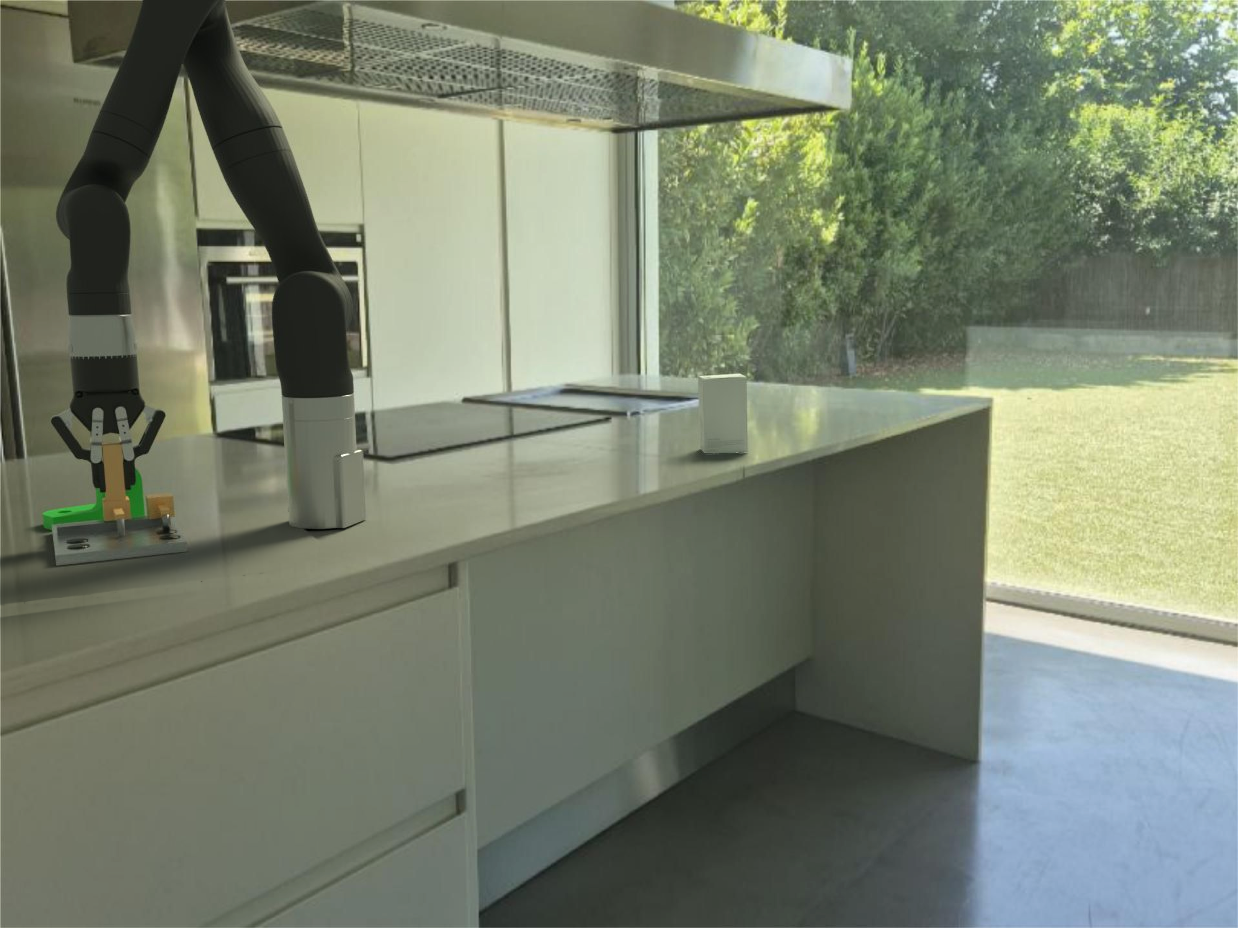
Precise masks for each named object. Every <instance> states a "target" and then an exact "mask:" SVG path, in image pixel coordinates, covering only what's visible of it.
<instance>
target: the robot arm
mask: <svg viewBox="0 0 1238 928" xmlns="http://www.w3.org/2000/svg"><path fill="white" fill-rule="evenodd" d="M226 3H227V2H226V0H142V2H141V6H140V11H139V14H138V16H137V20H136V23H135V26H134V29H133V32H132V35H131V38H130V41H129V43H128V46H127V48H126V51H125V54H124V56H123V59H122V61H121V63H120V65H119V67H118V70H117V72H116V73H115V76H114V79H113V81H112V83H111V85H110V88H109V90H108V92H107V94H106V96H105V99H104V101H103V103H102V106H101V107H100V108H101V109H100V110H99V113H98V115H97V118H96V120H95V122H94V125H93V126H92V130H91V132H90V134H89V138H88V141H87V142H86V143H87V144H86V147H85V149H84V151H83V154H82V156H81V157H80V160H79V161H78V163H77V165H76V166H75V168H74V170H73V172H72V174H71V175H70V178H69V179H68V181H67V182H66V185H65V186H64V189H63V190H62V193H61V194H60V197H59V200H58V201H57V206H56V211H55V219H56V224H57V227H58V228H59V230H60V231H61V232H60V233H62V235H63V236H64V237H65V238H66V239H68V240H69V253H70V254H69V255H70V268H69V270H68V273H67V276H66V298H67V311H68V315H69V316H68V332H67V333H68V335H67V337H68V351H69V359H70V372H71V386H72V394H73V396H72V399H71V402H70V403H69V408H68V409H65V410H64V411H62V412H60V413H59V414H54V415H52V416H51V417H50V423H51V425H52V426H53V428H54V429H55V430H56V432H57V433H58V435H59V436H60V438H61V439H62V441H63V442H64V444H65V446H67V448H68V449H69V451H70V452H71V454H72V455H73V456H74V457H75V459H76V460H83V461H87V462H89V463H90V467H91V479H92V486H93V487H94V489H96V488H99V491H100V493H104V492H106V483H105V470H104V463H103V460H102V444H103V436H104V435H108V434H116V435H117V436H118V440H119V442H120V443H121V445H122V456H123V471H124V484H125V491H127V490H131V485H135V483H136V474H135V468H136V465H135V462H136V459H137V458H139V457H141V456H144V455H148V454H149V453H150V450H151V448H152V447H153V444H154V442H155V439H156V437H157V436H158V433H159V432H160V429H161V427H162V425H163V423H164V421H165V418H166V413H165V411H164V410H162V409H161V408H154V407H152V406H149V405H148V404H146V402H145V401H146V400H145V399H144V398H143V396H142V395H141V391H140V380H139V367H138V366H139V365H138V364H139V363H138V355H137V350H138V344H137V341H136V339H137V338H136V330H135V327H134V326H135V325H134V323H133V317H132V306H131V294H130V293H131V292H130V285H129V267H130V266H129V265H130V255H131V254H130V253H131V234H132V233H131V232H132V231H131V219H130V214H129V213H130V212H129V210H128V207H127V205H126V201H127V199H128V197H129V195H130V193H131V190H132V188H133V186H134V183H136V181H137V180H138V179H140V177H142V175H143V174H144V172H145V170H146V168H147V167H148V166H149V164H150V163H149V162H150V160H151V157H152V156H153V153H154V151H155V147H156V145H157V143H158V140H159V137H160V135H161V133H162V130H163V127H164V124H165V121H166V119H167V115H168V112H169V109H170V106H171V103H172V99H173V95H174V92H175V88H176V86H177V81H178V78H179V75H180V72H181V69H182V66H183V68H184V70H185V72H186V75H187V77H188V80H189V83H190V87H191V89H192V93H193V97H194V99H195V103H196V107H197V109H198V113H199V116H200V120H201V121H202V124H203V127H204V130H205V133H206V136H207V139H208V142H209V144H210V147H211V151H212V152H213V154H214V158H215V160H216V162H217V165H218V167H219V169H220V172H221V174H222V178H223V179H224V181H225V183H226V185H227V187H228V190H229V191H230V194H231V195H232V197H233V199H234V200H235V202H236V203H237V205H238V207H239V208H240V209H241V212H242V213H243V214H244V216H245V217H246V219H247V220H248V222H249V223H250V224H251V226H252V228H253V229H254V231H255V233H256V234H257V235H258V237H259V238H260V240H261V242H262V244H263V246H264V247H265V250H266V252H267V254H268V256H269V259H270V261H271V264H272V266H273V271H274V272H275V273H274V274H275V276H276V279H277V283H278V286H277V287H276V289H275V291H274V293H273V296H272V297H273V298H272V303H271V322H272V337H273V339H272V340H273V351H274V359H275V360H274V361H275V368H276V374H277V377H278V379H279V382H280V388H281V389H280V391H281V408H282V409H281V410H282V423H283V424H282V425H283V428H282V429H283V444H284V458H285V462H284V463H285V478H286V479H285V480H286V496H287V513H288V524H289V526H290V527H294V528H299V529H304V530H306V529H307V530H325V529H336V528H337V529H345V528H347V527H348V528H349V527H350V526H353V525H355V524H358V523H360V522H362V521H364V520H367V511H366V510H367V509H366V508H367V507H366V505H367V504H366V489H365V487H366V486H365V485H366V484H365V466H364V465H365V464H364V451H363V450H362V449H357V433H356V431H357V430H356V412H355V411H356V409H355V394H354V393H355V390H354V389H355V388H354V376H353V372H352V370H351V366H350V361H349V354H348V353H349V352H348V341H347V340H348V338H347V329H348V328H349V326H350V324H351V322H352V318H353V314H354V303H353V302H354V301H353V298H352V295H351V292H350V290H349V287H348V286H347V284H346V283H345V281H344V279H343V277H342V275H341V273H340V271H339V269H338V268H337V266H336V264H335V262H334V260H333V257H332V256H331V254H330V252H329V250H328V248H327V246H326V244H325V242H324V239H323V238H322V236H321V233H320V231H319V228H318V226H317V222H316V220H315V216H314V213H313V210H312V207H311V204H310V200H309V196H308V194H307V191H306V187H305V185H304V182H303V179H302V177H301V173H300V171H299V168H298V165H297V161H296V159H295V156H294V154H293V151H292V148H291V146H290V144H289V140H288V139H287V136H286V133H285V131H284V129H283V126H282V124H281V121H280V120H279V119H280V118H279V116H278V115H277V113H276V111H275V109H274V108H273V106H272V104H271V102H270V101H269V99H268V98H267V96H266V94H265V93H264V92H263V89H262V88H261V87H260V85H259V84H258V83H257V80H256V79H255V78H254V77H253V75H252V73H251V72H250V71H249V69H248V67H247V65H246V63H245V61H244V59H243V56H242V54H241V52H240V50H239V46H238V43H237V40H236V38H235V34H234V31H233V28H232V25H231V21H230V18H229V14H228V9H227V6H226ZM142 413H143V414H144V422H145V423H146V424H147V425H146V427H145V430H144V432H143V433H142V436H141V438H140V441H138V444H137V445H134V446H133V442H132V435H131V431H130V430H131V429H132V427H133V426H134V424H135V423H136V422H137V421H138V419H139V417H140V416H141V415H142ZM73 417H75V418H76V419H77V420H78V422H79V423H81V424H82V426H84V427H85V428H86V429H87V430H88V432H89V433H90V434H89V449H87V448H84V447H82V446H81V444H80V443H79V441H78V440H77V438H76V437H75V436H74V434H73V433H72V432H71V430H70V429H72V428H73V425H74V423H73V421H72V420H73Z"/></svg>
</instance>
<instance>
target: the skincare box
mask: <svg viewBox="0 0 1238 928" xmlns="http://www.w3.org/2000/svg"><path fill="white" fill-rule="evenodd" d="M697 384H698V385H697V387H698V390H697V391H698V393H697V394H698V395H697V396H698V421H699V450H700V449H701V450H702V451H703V452H705V453H714V454H713V455H716V454H715V453H736V452H748V453H749V443H748V442H749V437H748V436H749V433H748V432H749V431H748V391H747V390H748V387H747V386H748V376H745V375H744V374H741V373H729V374H727V373H726V374H714V375H713V374H712V375H698V376H697ZM701 450H700V451H701ZM702 451H701V452H702ZM703 452H702V453H703Z"/></svg>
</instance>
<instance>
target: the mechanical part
mask: <svg viewBox="0 0 1238 928" xmlns="http://www.w3.org/2000/svg"><path fill="white" fill-rule="evenodd" d="M135 474H136V483H135V485H131V490H127V491H125V493H126V496H128V498H129V499H130V510H131V517H137V516H146V515H145V514H146V513H145V501H144V489H143V488H144V487H143V486H144V485H143V479H142V476H141V473H140V472H139V470H138V469H137V468H136V467H135ZM95 497H96V502H95V503H90V504H83V505H75V506H69V507H61V508H55V509H51V510H50V509H49V510H47V511H44V512H42V521H43V522H42V524H43V528H44V529H47V530H50V531H52V524H63V523H73V522H84V521H94V520H104V516H103V504H102V499H103V498H106V496H105V492H104V493H100V491H99V488H95Z"/></svg>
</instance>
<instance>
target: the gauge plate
mask: <svg viewBox="0 0 1238 928" xmlns="http://www.w3.org/2000/svg"><path fill="white" fill-rule="evenodd" d="M145 502H146V504H145V505H146V515H145V516H137V517H131V519H125V520H124V526H125V535H124V536H118V528H117V521H116V520H111V521H105V520H94V521H84V522H73V523H63V524H52V530H51V531H52V532H51V533H52V542H53V547H54V548H53V549H54V557H55V565H56V566H58V567H59V566H65V565H66V566H67V565H68V566H69V565H75V564H84V563H85V564H87V563H92V562H102V561H104V562H105V561H112V560H121V559H122V560H123V559H130V558H140V557H141V558H142V557H148V556H157V555H165V554H177V553H185V552H188V540H186V538H185V537H184V535H183V533H182V531H180V529H179V528H178V526H177V525H176V523H175V522H174V520H173V519H172V518H174V517H175V516H176V515H175V514H176V513H175V503H174V502H175V500H174V495H173V493H172V492H164V493H152V494H146V495H145Z"/></svg>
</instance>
